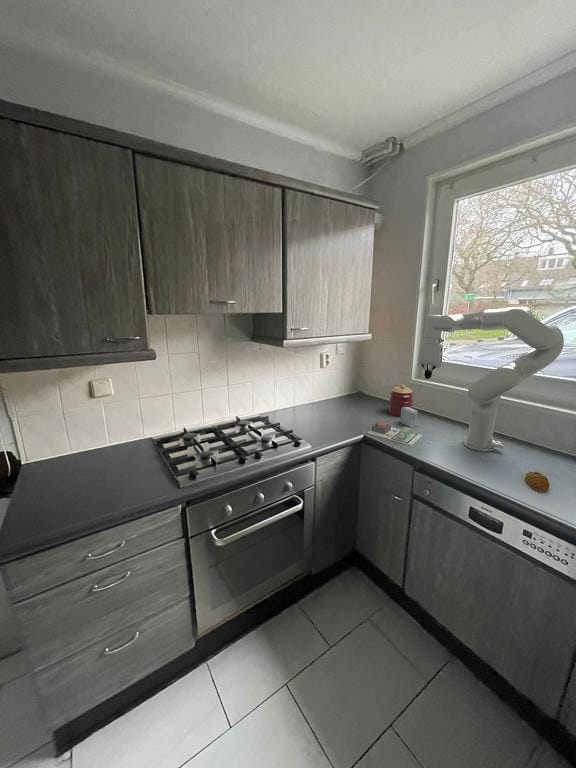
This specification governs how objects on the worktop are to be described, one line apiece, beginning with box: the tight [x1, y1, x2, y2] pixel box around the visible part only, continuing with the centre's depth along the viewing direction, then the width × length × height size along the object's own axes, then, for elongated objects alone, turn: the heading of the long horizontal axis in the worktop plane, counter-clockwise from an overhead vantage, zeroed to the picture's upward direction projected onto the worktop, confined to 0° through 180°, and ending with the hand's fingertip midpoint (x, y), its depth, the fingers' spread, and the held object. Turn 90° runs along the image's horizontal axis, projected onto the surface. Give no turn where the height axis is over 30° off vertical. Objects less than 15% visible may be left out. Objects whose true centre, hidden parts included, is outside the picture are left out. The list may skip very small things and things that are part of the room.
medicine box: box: [399, 407, 419, 428], centre depth 168 cm, size 8×4×9 cm, turn 22°
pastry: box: [524, 471, 550, 493], centre depth 112 cm, size 9×7×4 cm
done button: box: [376, 421, 387, 428], centre depth 160 cm, size 4×4×3 cm
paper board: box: [367, 421, 423, 447], centre depth 156 cm, size 22×14×3 cm, turn 49°
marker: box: [398, 426, 413, 439], centre depth 152 cm, size 3×10×3 cm, turn 139°
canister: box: [388, 383, 415, 418], centre depth 184 cm, size 13×13×18 cm
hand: (427, 378), depth 156 cm, fingers closed
